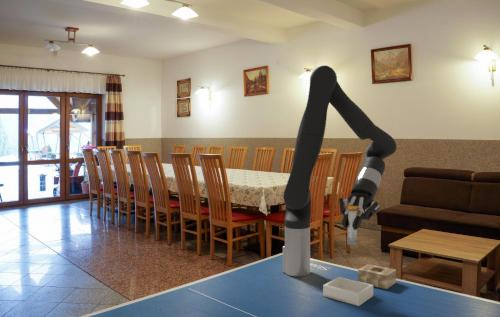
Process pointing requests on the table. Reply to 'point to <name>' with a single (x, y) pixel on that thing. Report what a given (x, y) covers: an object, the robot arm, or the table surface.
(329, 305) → the table surface
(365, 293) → the tray
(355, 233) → the lock pin
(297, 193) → the robot arm
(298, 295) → the table surface
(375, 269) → the block
